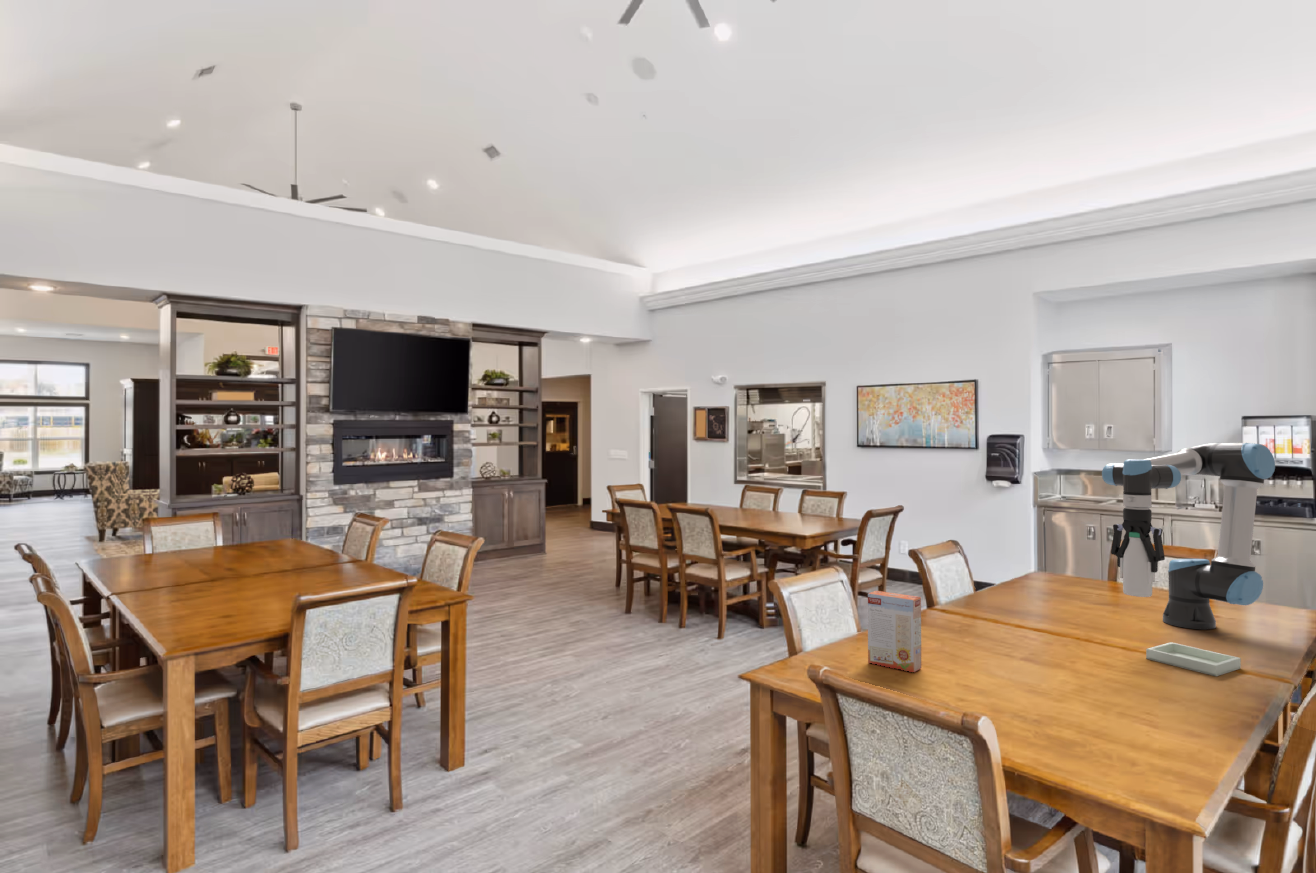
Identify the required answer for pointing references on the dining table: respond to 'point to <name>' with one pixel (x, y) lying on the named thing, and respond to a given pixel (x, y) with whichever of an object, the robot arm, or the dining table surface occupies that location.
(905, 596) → the cracker box
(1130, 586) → the milk bottle
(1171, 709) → the dining table surface
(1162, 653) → the tray
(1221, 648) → the dining table surface
